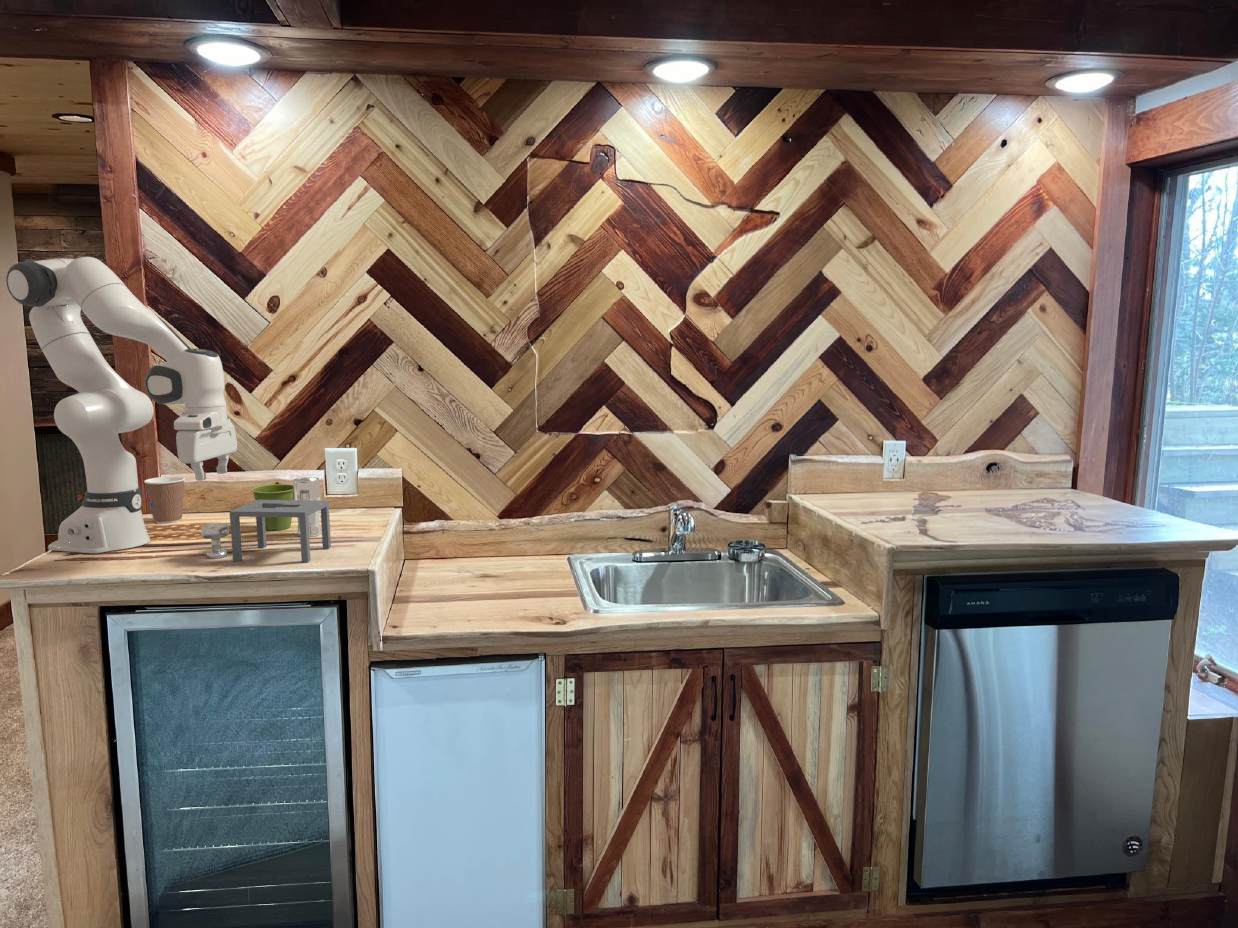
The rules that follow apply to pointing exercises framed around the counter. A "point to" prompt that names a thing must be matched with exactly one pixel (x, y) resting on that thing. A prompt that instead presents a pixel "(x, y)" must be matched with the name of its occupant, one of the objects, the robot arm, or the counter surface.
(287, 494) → the plant pot
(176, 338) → the robot arm
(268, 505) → the keyhole stand
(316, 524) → the beer glass
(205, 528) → the steel peg
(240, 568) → the counter surface
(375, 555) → the counter surface
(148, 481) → the coffee cup
